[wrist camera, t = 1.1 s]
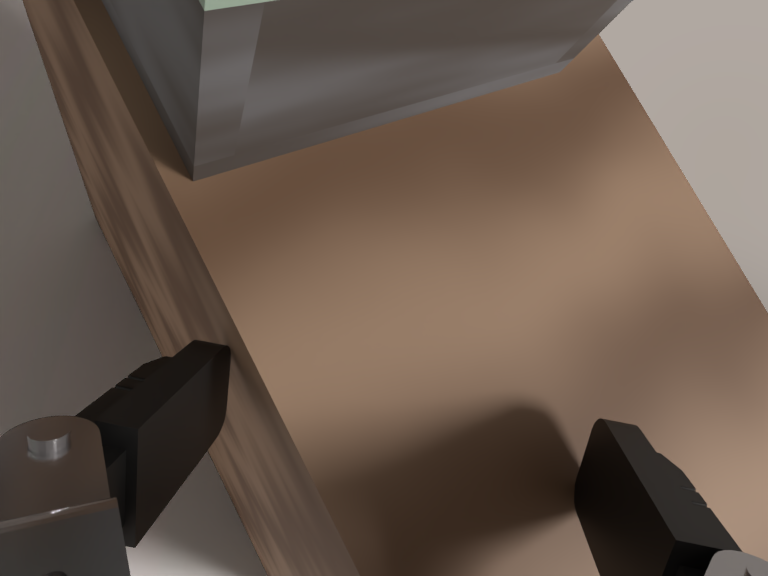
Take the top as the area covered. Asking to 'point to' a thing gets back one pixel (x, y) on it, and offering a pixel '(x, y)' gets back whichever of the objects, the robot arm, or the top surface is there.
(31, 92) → the top surface
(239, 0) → the green t-shaped block
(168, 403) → the robot arm
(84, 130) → the cabinet
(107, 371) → the top surface
